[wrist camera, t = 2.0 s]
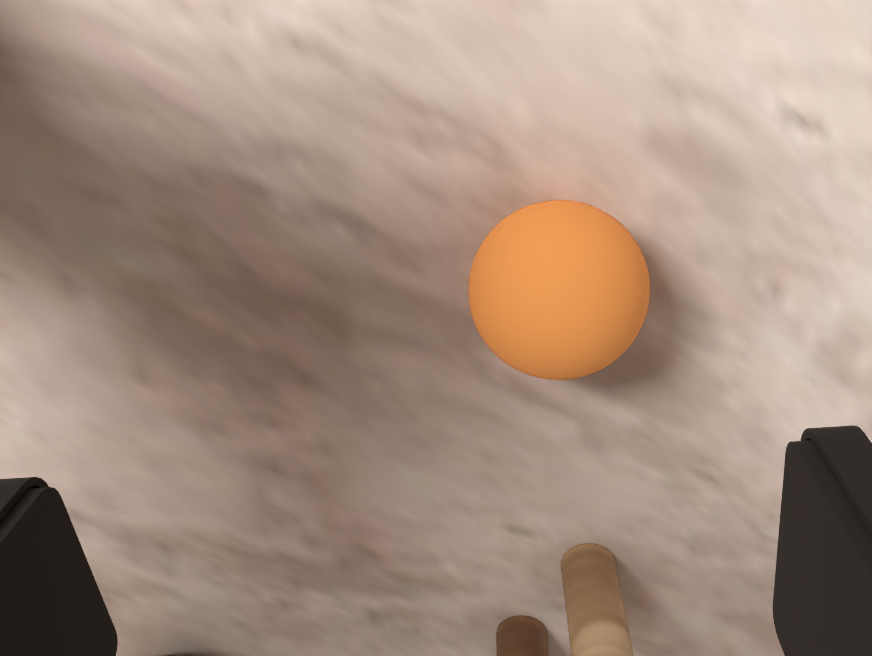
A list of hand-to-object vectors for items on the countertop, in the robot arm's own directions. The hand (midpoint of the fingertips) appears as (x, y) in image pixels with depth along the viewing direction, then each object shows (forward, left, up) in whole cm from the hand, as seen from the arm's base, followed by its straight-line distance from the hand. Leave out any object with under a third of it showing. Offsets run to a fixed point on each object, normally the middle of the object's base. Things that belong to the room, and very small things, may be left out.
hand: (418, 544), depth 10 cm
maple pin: (+19, +3, -20) cm, 28 cm away
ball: (+4, +3, -17) cm, 18 cm away
